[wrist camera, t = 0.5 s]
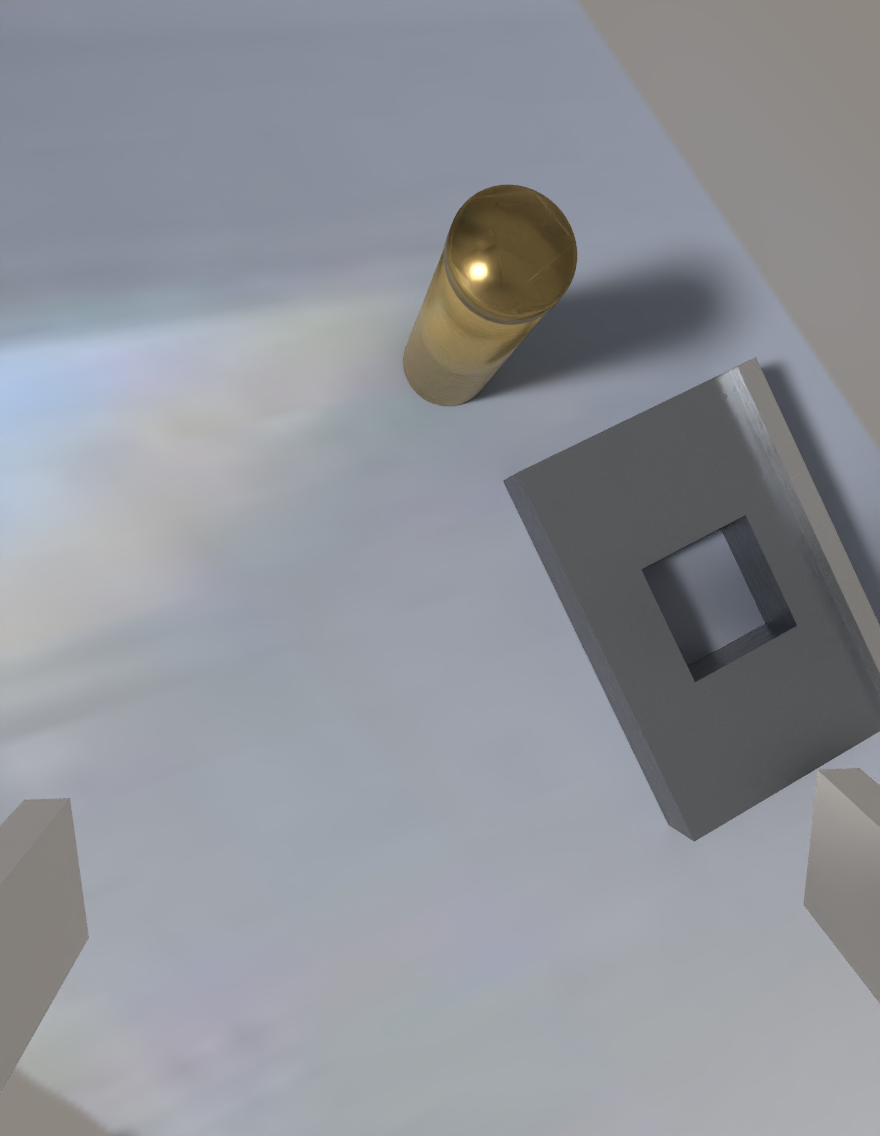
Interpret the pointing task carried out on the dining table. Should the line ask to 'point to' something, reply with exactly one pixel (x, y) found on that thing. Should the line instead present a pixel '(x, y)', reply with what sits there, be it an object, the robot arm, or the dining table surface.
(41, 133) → the dining table surface
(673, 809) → the jig
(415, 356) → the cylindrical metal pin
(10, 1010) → the robot arm
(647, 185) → the dining table surface
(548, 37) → the dining table surface
